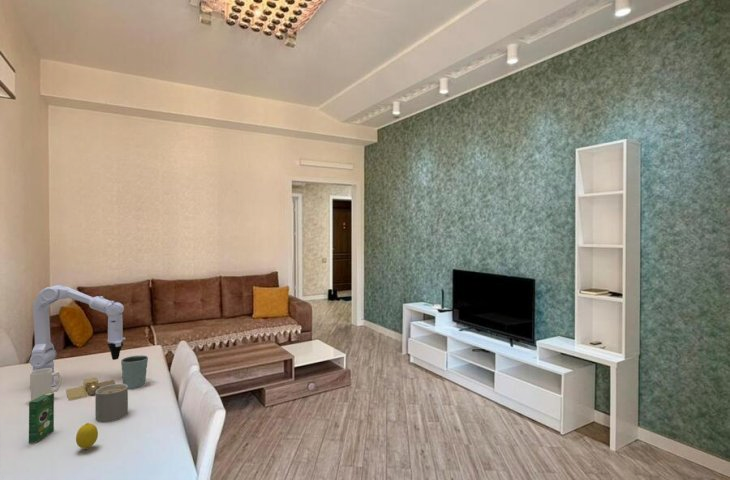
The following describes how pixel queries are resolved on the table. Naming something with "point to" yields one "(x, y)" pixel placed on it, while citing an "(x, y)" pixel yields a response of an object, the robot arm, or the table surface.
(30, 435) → the coffee box
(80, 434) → the lemon
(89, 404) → the table surface
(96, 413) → the coffee mug
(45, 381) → the mug
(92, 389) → the bronze leaf with pin
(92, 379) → the brass leaf
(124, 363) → the teal cup
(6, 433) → the table surface
